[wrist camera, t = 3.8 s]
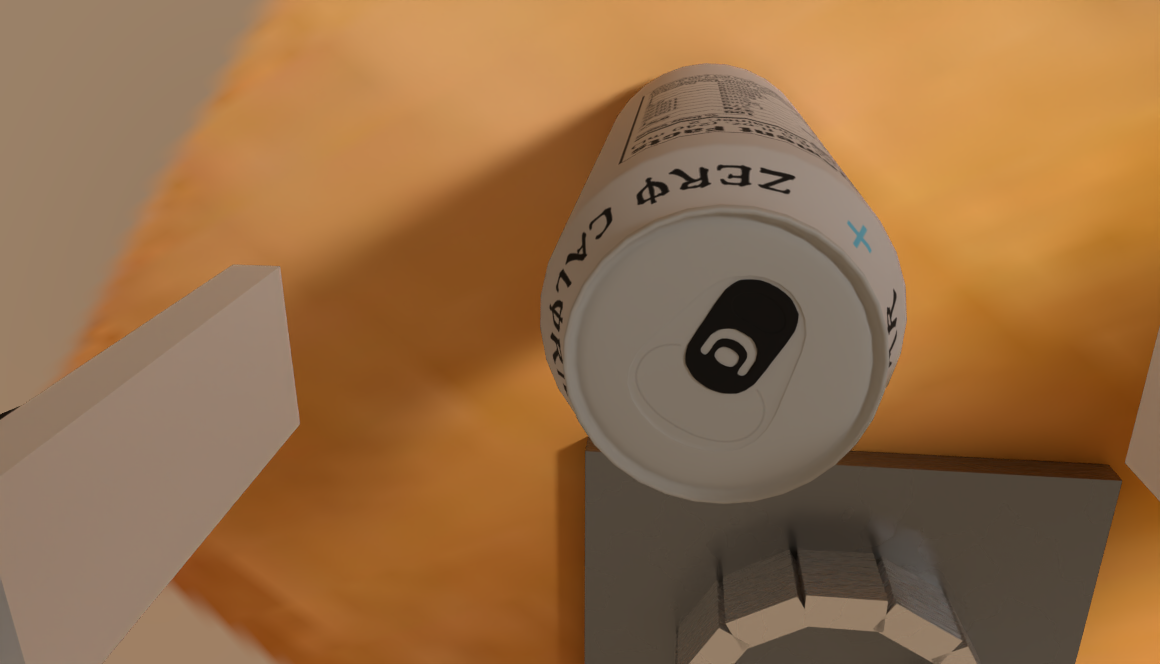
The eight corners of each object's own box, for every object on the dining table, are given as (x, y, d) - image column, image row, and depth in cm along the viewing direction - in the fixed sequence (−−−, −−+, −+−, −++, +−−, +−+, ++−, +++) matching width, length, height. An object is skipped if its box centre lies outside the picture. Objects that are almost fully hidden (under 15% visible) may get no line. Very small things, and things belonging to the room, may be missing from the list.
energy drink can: (570, 196, 28) (455, 418, 14) (673, 19, 26) (656, 79, 12) (733, 294, 29) (775, 596, 15) (849, 128, 26) (1023, 306, 13)
